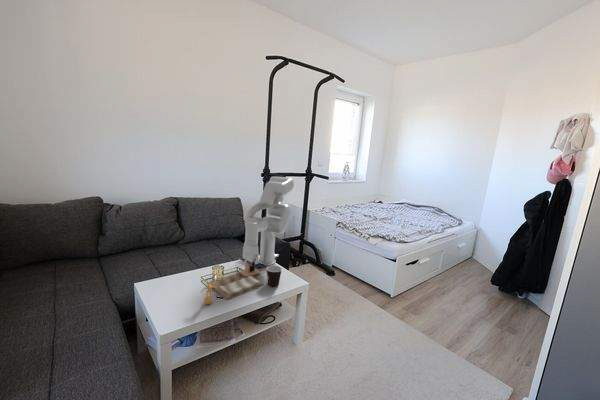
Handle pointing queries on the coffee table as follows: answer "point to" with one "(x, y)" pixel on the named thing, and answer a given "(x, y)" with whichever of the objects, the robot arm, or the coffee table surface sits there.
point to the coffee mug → (273, 275)
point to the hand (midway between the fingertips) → (250, 269)
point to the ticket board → (235, 285)
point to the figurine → (208, 298)
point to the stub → (247, 270)
